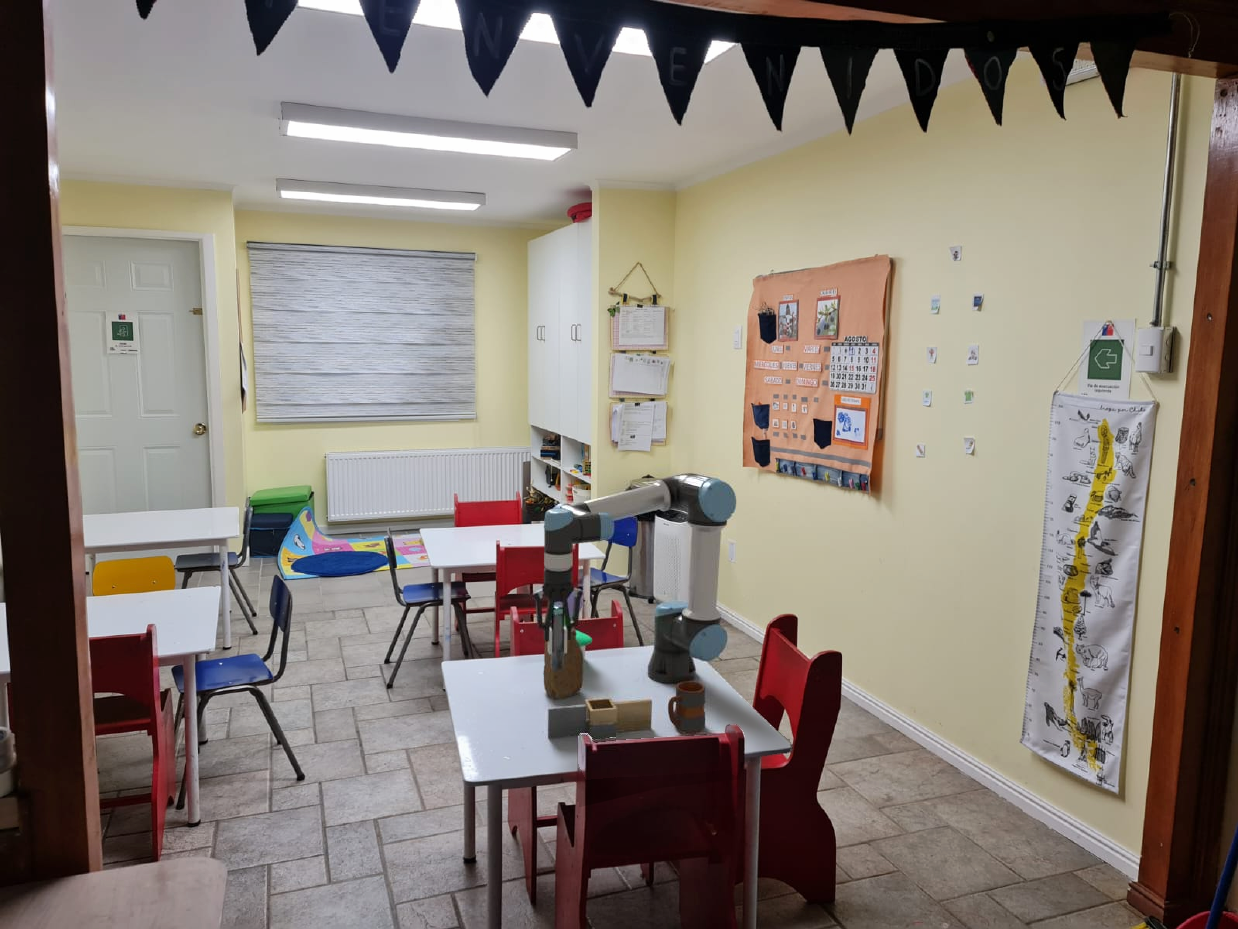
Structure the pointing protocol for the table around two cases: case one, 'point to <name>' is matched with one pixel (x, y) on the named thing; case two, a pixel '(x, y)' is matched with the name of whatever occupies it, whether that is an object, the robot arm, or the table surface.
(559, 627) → the pin
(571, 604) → the toy character
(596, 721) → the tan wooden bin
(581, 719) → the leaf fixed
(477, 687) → the table surface
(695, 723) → the mug
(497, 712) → the table surface
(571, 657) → the brown rounded block
